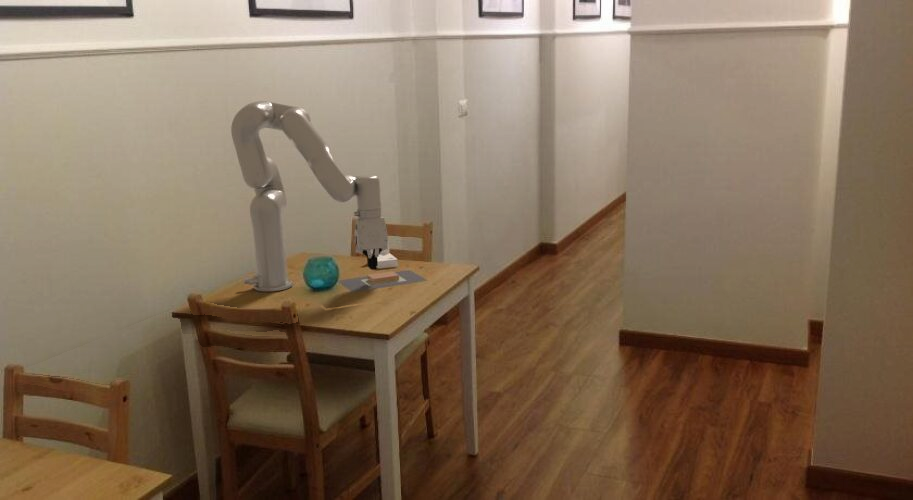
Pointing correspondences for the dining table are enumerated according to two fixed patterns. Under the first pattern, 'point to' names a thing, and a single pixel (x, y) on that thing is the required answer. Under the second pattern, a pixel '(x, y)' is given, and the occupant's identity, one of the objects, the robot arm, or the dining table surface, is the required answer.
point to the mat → (365, 284)
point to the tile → (383, 277)
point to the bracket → (386, 259)
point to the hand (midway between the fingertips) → (372, 268)
